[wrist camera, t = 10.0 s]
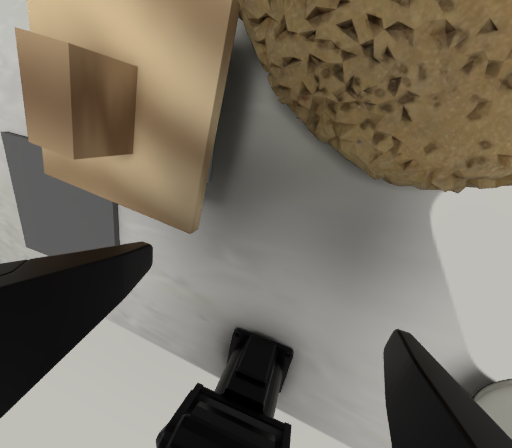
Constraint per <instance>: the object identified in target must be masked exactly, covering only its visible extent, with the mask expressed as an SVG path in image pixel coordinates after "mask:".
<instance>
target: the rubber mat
mask: <svg viewBox="0 0 512 448" xmlns="http://www.w3.org/2000/svg"><path fill="white" fill-rule="evenodd" d="M1 135H2V140H3V144H4V149H5V153H6V158H7V162H8V167H9V171H10V176H11V180H12V185H13V189H14V194H15V198H16V203H17V207H18V212H19V216H20V221H21V225H22V230H23V234H24V239H25V243H26V247H28V248H30V249H33V250H35V251H38V252H40V253H43V254H45V255H48V256H54V255H60V254H66V253H73V252H79V251H85V250H92V249H98V248H104V247H111V246H117V245H119V227H118V206H117V203H115V202H112V201H110V200H107V199H105V198H103V197H100V196H98V195H95V194H93V193H90V192H88V191H86V190H83V189H81V188H78V187H76V186H74V185H71V184H69V183H66V182H64V181H62V180H59V179H57V178H54V177H52V176H49V175H47V174H45V173H44V164H43V154H42V147H40V146H38V145H35V144H33V143H30V142H29V141H28V137H25V136H21V135H17V134H14V133H10V132H1Z"/></svg>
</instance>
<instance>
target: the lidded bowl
mask: <svg viewBox="0 0 512 448" xmlns="http://www.w3.org/2000/svg"><path fill="white" fill-rule="evenodd" d="M474 400H475V401H476V402H477V404H478V405H479V406H480V407H481V408H482V409H483V410H484V411H485V412H486V413H487V414H488V415H489V416H490V417H491V418H492V419H493V420H494V421H495V422H496V423H497V424H498V425H499V427H500V428H501V429H502V430H503V431H504V432H505V433H506V434H507V435H508V436H509V437H510V438H511V439H512V379H507V380H502V381H498V382H495V383H492V384H490V385H488V386H486V387H484V388H483V389H481V390H480V391H479V392H478V393H477V394H476V396H475V397H474Z"/></svg>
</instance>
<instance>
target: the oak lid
mask: <svg viewBox="0 0 512 448" xmlns="http://www.w3.org/2000/svg"><path fill="white" fill-rule="evenodd" d="M27 4H28V14H29V24H30V32H29V31H26V30H23V29H19V28H16V27H15V33H16V42H17V50H18V58H19V66H20V75H21V83H22V91H23V100H24V108H25V116H26V124H27V133H28V141H29V142H30V143H33V144H35V145H38V146H40V147H42V154H43V164H44V173H45V174H47V175H49V176H52V177H54V178H57V179H59V180H62V181H64V182H66V183H69V184H71V185H74V186H76V187H78V188H81V189H83V190H86V191H88V192H90V193H93V194H95V195H98V196H100V197H103V198H105V199H107V200H110V201H112V202H115V203H117V204H119V205H122V206H124V207H127V208H129V209H131V210H134V211H136V212H139V213H141V214H143V215H146V216H148V217H151V218H153V219H156V220H158V221H160V222H163V223H165V224H168V225H170V226H172V227H175V228H177V229H180V230H182V231H184V232H187V233H189V234H191V233H193V232H194V231H196V230H197V229H198V226H199V221H200V216H201V210H202V205H203V200H204V195H205V189H206V184H207V179H208V174H209V168H210V163H211V158H212V153H213V147H214V142H215V137H216V132H217V126H218V121H219V116H220V111H221V105H222V100H223V95H224V90H225V84H226V79H227V74H228V68H229V63H230V58H231V53H232V47H233V42H234V37H235V32H236V26H237V21H238V16H239V11H240V4H239V3H238V1H237V0H27Z"/></svg>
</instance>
